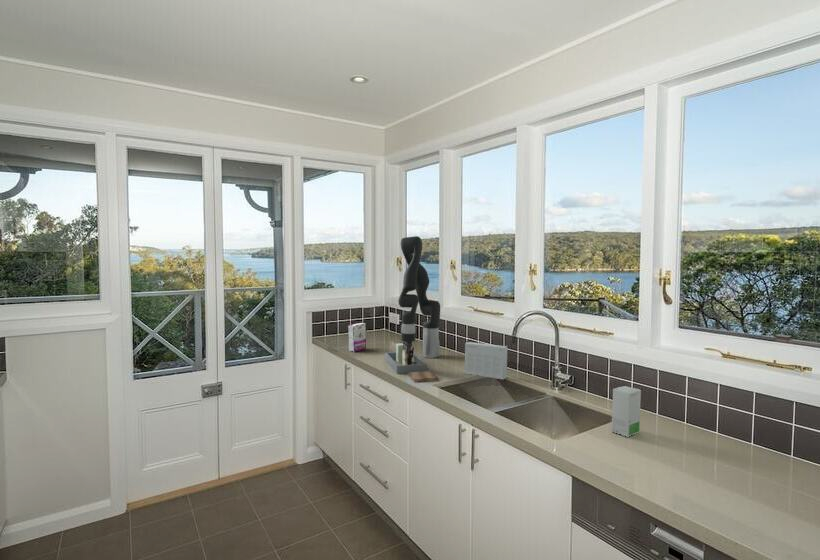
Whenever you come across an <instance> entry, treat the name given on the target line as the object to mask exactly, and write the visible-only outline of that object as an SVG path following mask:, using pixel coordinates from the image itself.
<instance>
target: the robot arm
mask: <svg viewBox="0 0 820 560" xmlns="http://www.w3.org/2000/svg"><path fill="white" fill-rule="evenodd" d="M421 238H422V237H420V236H418V235H417V236H416V235H415V236H407V237H402V238H401V240H400V248H401V249H400V250H401V251H402V255H403V256H404V259H405V261H406V263H407V267H406V269H405V271H404V273H403V282H402V284H403V285H402V289H401V292H400V294H399V297H398V301H397V302H398V305H399V307H401V308H407V309H409V308H411V309H410V310H409V311H404V312H402V314H401V327H400V328H401V329H400V333H401V335H400V340H401V342H402V343H403V349H404V350H405V349H406V353H407V364H408V365H411V364H412V357H413V352H414V353H415V351H414V350H415V349H414V348H415V347H414V345H413V342H415V341H416V328H417V327H416V314H417V313H416V312H417V310H418V306H419V309H420V312H421V314H422V315H423V316H426V317H427V316H429V317H430V319H429V320H427V321H424V322H423V323H422V324H423V325H422V356H424V357H423V358H427V357H428V358H427V359H429V358H430V359H431V358H435V359H436V358H438V357H440V351H441V350H440V345H441V343H440V342H441V341H440V339H439V336H440V335H439V334H440V332H439V330H440V326H439V325H440V320H441V303H440V301H438V300H430V299H428V297H427V290H428V288H429V284H430V277H429V275H428V271H427V270H426V268H425V267H424V266H423V265H422V264H421V263H420V260H421V257H422V252H423V241H422V239H421ZM413 291H416V294H414V293H412V294H410V293H409V292H413ZM410 354H411V355H410Z"/></svg>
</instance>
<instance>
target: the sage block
mask: <svg viewBox="0 0 820 560" xmlns="http://www.w3.org/2000/svg"><path fill="white" fill-rule="evenodd" d="M402 350H403V342H402V343H396V344H395V352H396V359H395V362H396V361H397V362H398V363H397V362H396V363H397V364H402Z"/></svg>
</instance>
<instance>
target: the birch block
mask: <svg viewBox="0 0 820 560" xmlns="http://www.w3.org/2000/svg"><path fill="white" fill-rule="evenodd" d="M414 354H415V351H414V352H413V357H412V364H411V365H414V364H415V362H414ZM410 355H411V354H410ZM401 365H408V364H407V353H406V349H405V350H404V349H403V350H402V363H401Z"/></svg>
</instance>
